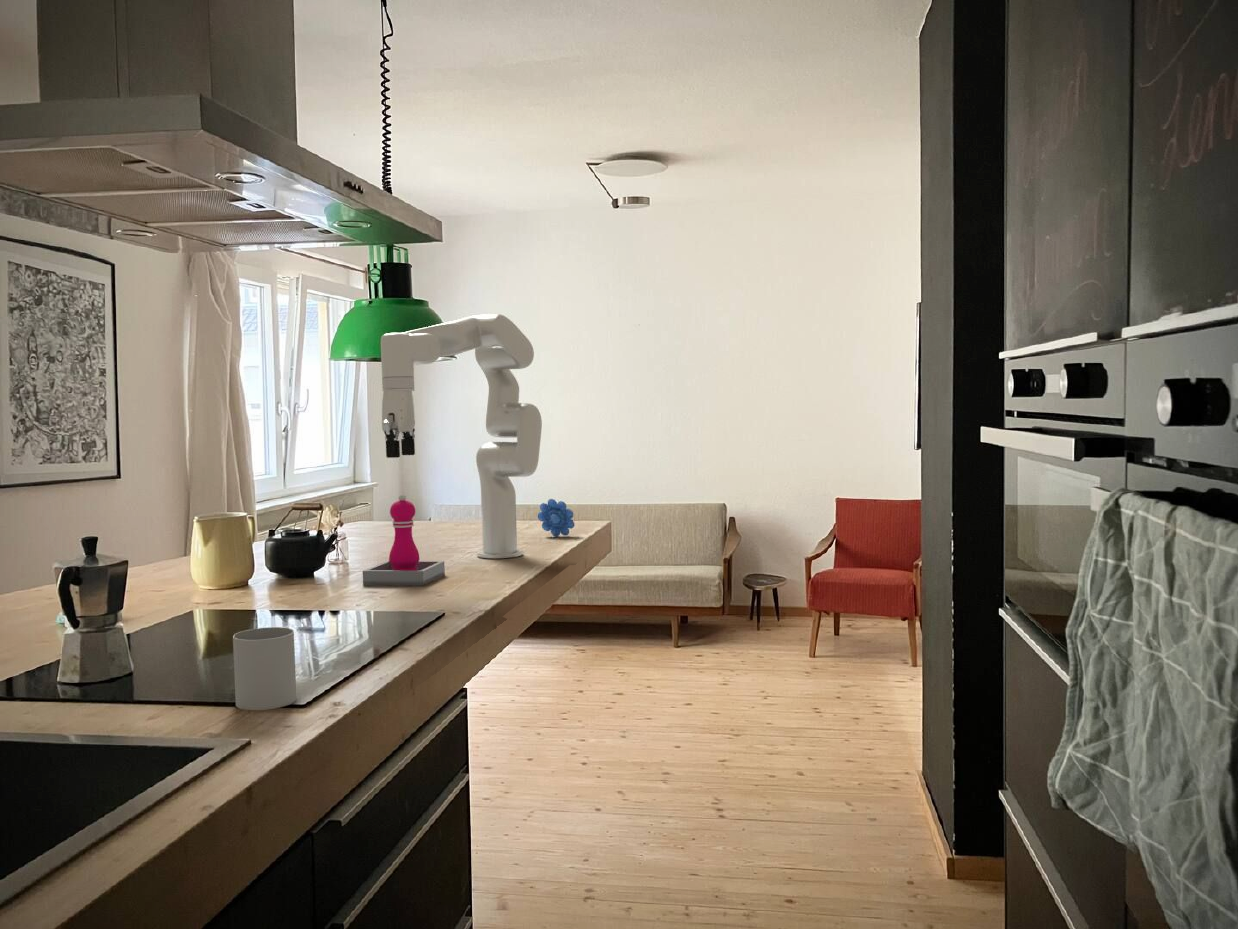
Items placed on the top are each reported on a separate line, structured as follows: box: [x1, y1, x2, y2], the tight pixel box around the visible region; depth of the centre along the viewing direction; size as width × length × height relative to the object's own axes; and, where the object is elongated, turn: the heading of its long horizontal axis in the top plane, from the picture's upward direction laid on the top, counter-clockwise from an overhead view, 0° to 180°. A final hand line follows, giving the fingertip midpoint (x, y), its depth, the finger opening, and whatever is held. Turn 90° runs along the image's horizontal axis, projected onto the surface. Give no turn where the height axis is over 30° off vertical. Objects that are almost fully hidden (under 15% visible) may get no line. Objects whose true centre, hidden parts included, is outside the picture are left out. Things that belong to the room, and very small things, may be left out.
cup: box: [232, 626, 297, 711], centre depth 150 cm, size 8×8×10 cm
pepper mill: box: [388, 493, 420, 571], centre depth 250 cm, size 7×7×20 cm
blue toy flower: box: [537, 498, 575, 537], centre depth 324 cm, size 12×7×12 cm, turn 86°
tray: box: [362, 560, 446, 587], centre depth 251 cm, size 15×15×4 cm
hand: (400, 456), depth 249 cm, fingers open, 9 cm apart
